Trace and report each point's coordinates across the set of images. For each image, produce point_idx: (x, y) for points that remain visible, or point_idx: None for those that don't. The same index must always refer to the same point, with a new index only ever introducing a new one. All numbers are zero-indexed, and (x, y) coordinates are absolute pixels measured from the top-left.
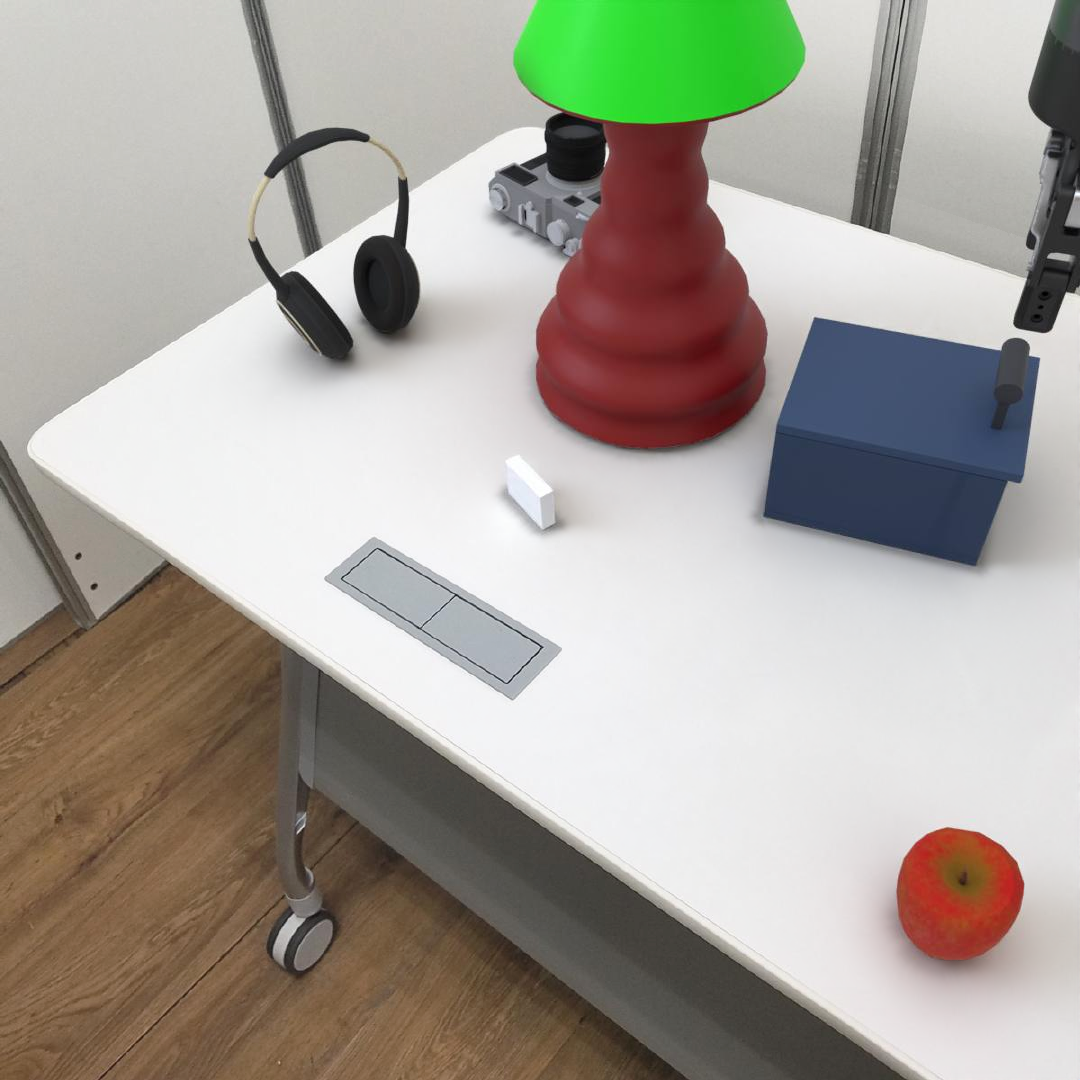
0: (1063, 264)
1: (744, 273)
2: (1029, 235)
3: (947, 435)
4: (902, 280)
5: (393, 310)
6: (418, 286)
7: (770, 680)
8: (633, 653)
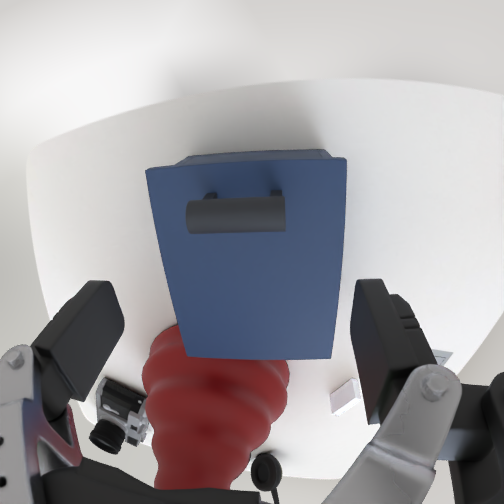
0: (457, 438)
1: (165, 394)
2: (115, 341)
3: (308, 239)
4: (57, 256)
5: (249, 460)
6: None
7: (443, 259)
8: (431, 323)
